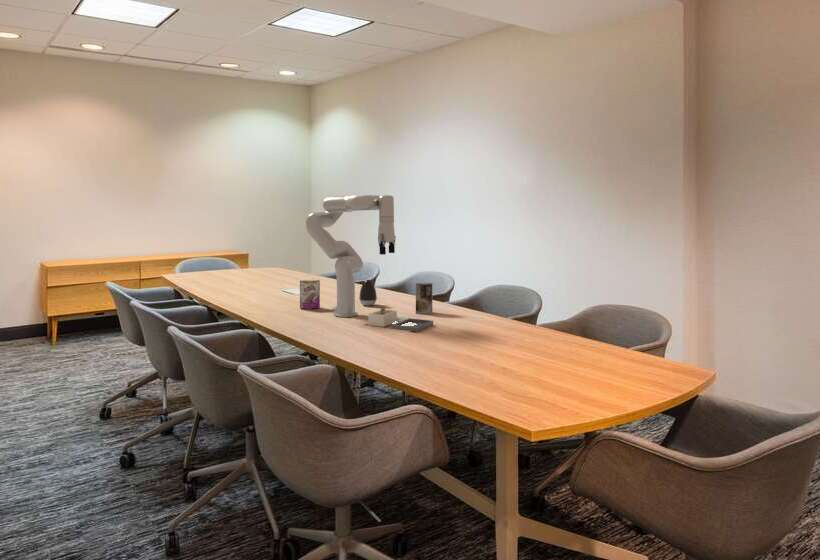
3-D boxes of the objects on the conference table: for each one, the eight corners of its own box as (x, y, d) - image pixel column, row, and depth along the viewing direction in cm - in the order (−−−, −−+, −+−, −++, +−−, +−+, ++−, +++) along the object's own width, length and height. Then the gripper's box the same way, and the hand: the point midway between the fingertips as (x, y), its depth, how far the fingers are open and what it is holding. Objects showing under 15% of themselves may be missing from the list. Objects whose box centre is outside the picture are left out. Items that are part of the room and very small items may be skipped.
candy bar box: (299, 309, 343) (299, 280, 341) (300, 307, 348) (299, 279, 345) (320, 308, 344) (319, 280, 342) (320, 307, 349) (319, 279, 347)
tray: (391, 329, 291) (391, 325, 291) (408, 322, 308) (409, 318, 308) (416, 332, 285) (416, 327, 285) (433, 325, 302) (433, 320, 302)
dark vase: (357, 304, 361) (357, 278, 359) (375, 303, 363) (375, 278, 361) (360, 307, 351) (360, 280, 349) (378, 306, 353) (378, 280, 351)
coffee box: (432, 311, 337) (433, 283, 335) (431, 314, 331) (432, 284, 329) (416, 311, 338) (416, 282, 336) (415, 313, 332) (415, 284, 330)
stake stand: (362, 326, 298) (362, 310, 297) (379, 320, 313) (379, 304, 312) (386, 329, 292) (386, 312, 291) (402, 322, 308) (402, 307, 307)
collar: (368, 325, 298) (368, 314, 298) (382, 320, 311) (382, 309, 310) (383, 326, 295) (383, 315, 294) (396, 321, 307) (396, 310, 306)
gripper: (388, 219, 317) (388, 252, 320) (371, 220, 302) (372, 254, 304) (400, 219, 314) (401, 252, 316) (385, 220, 299) (385, 255, 301)
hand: (387, 253), depth 310 cm, fingers open, 9 cm apart
